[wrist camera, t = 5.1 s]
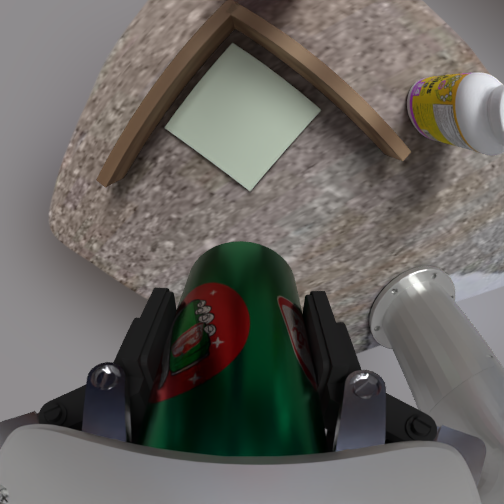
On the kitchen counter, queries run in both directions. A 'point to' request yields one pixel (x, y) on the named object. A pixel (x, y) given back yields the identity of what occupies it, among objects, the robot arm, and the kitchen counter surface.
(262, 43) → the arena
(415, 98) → the supplement bottle
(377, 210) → the kitchen counter surface
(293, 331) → the soda can
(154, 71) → the kitchen counter surface
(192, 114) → the pad
